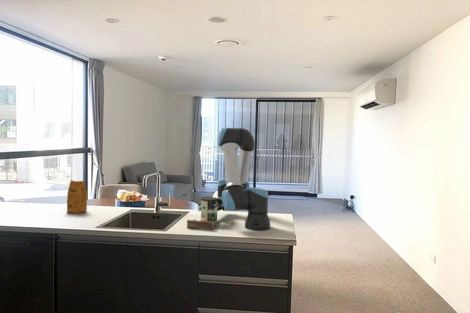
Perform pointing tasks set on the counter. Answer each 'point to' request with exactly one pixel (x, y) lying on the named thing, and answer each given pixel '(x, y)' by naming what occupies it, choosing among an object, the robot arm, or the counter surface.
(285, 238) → the counter surface
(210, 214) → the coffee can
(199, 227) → the brown wooden tray
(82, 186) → the coffee package
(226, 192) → the robot arm
